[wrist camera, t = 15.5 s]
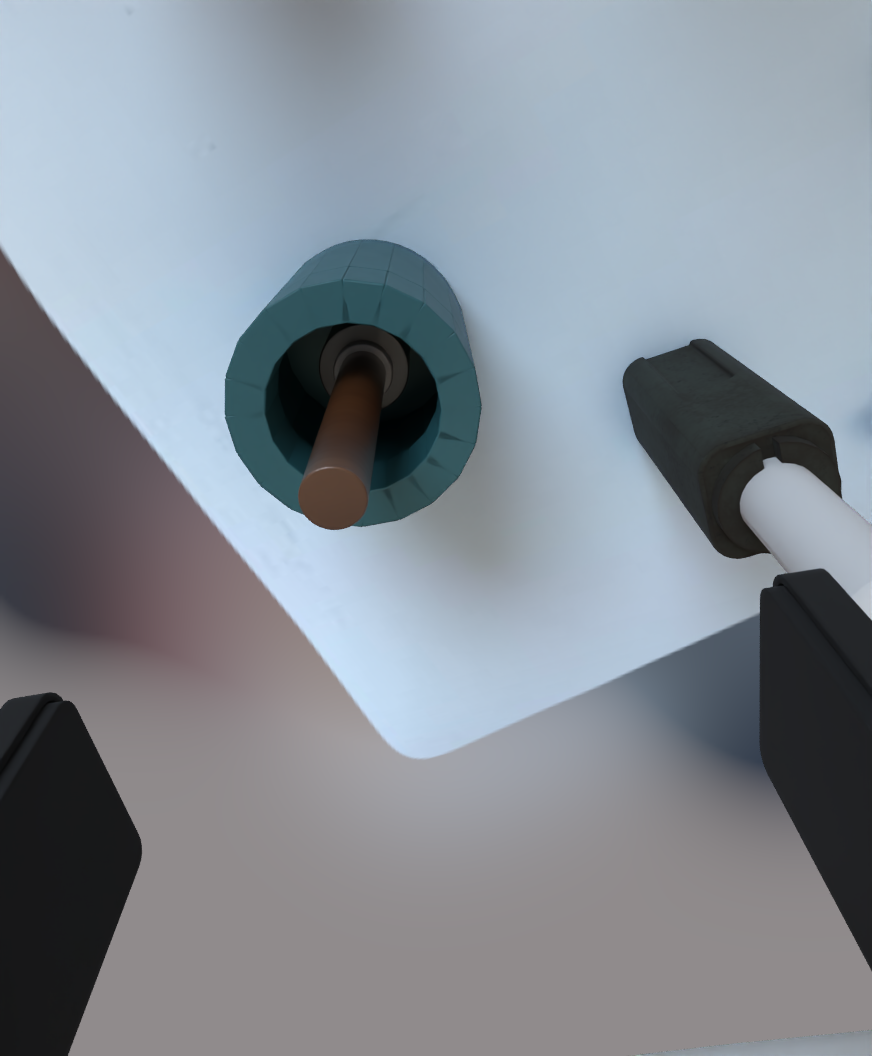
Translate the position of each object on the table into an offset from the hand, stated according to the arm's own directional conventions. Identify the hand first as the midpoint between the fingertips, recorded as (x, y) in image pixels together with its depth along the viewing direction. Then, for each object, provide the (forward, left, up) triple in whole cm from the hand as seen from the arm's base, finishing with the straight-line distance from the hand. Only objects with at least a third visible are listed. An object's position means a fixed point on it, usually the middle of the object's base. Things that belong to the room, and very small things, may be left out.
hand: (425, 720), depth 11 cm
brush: (+2, -3, -31) cm, 31 cm away
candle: (+8, +12, -32) cm, 35 cm away
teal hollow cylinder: (+2, -3, -32) cm, 32 cm away
